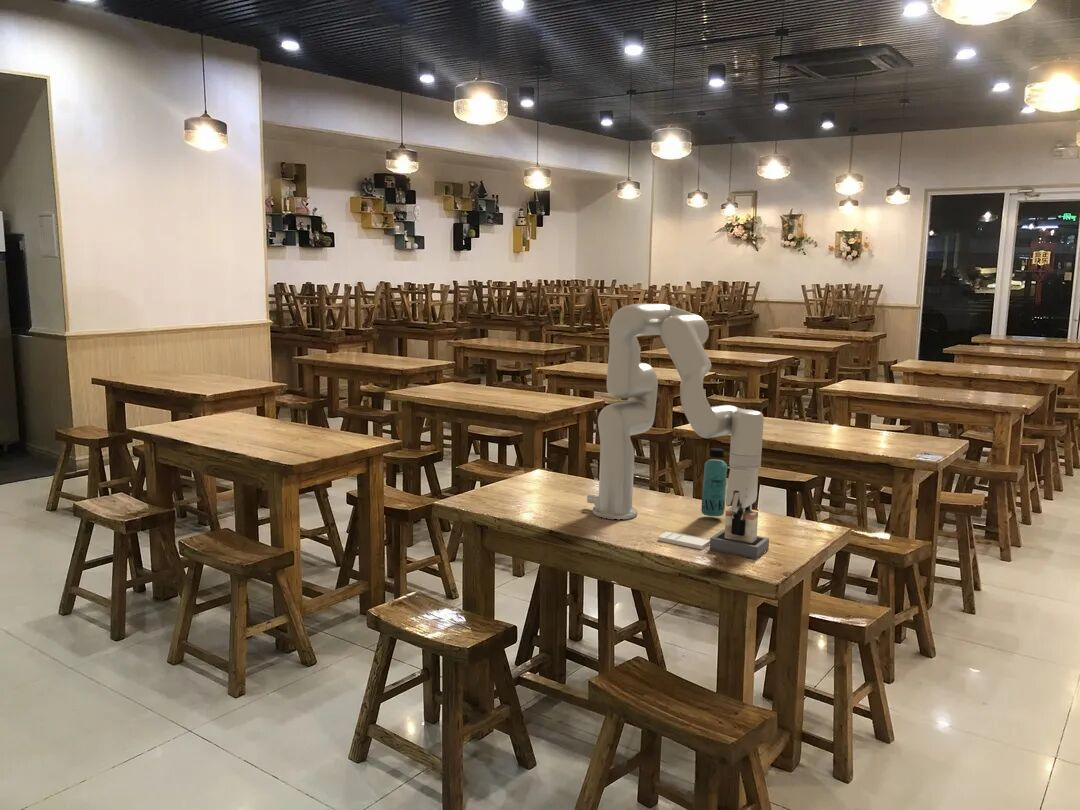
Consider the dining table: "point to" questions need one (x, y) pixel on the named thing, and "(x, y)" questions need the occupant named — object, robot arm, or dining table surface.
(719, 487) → the beverage bottle
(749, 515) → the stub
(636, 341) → the robot arm
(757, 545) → the tray
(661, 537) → the cream slab
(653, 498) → the dining table surface
